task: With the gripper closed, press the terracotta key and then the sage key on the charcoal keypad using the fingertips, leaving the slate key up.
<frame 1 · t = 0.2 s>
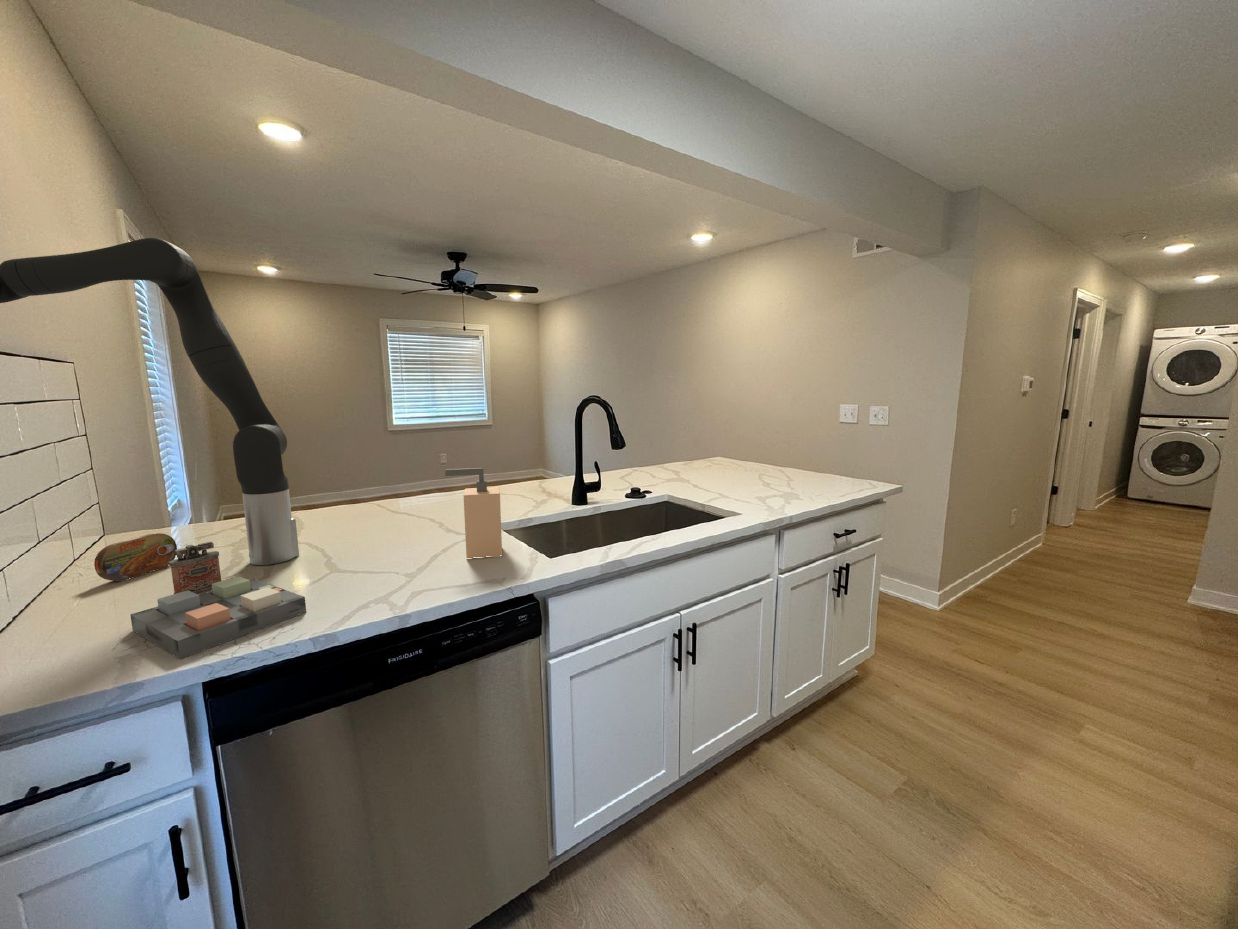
tin: (140, 574, 113), on the worktop
slate key: (179, 603, 89), point 4 cm above the worktop, slide at 0.0 cm
soap dispenser: (476, 554, 127), on the worktop
terracotta key: (208, 617, 83), point 4 cm above the worktop, slide at 0.0 cm
keypad: (223, 621, 90), on the worktop
sage key: (231, 588, 96), point 4 cm above the worktop, slide at 0.0 cm
lighter: (199, 592, 103), on the worktop
cream key: (261, 600, 90), point 4 cm above the worktop, slide at 0.0 cm
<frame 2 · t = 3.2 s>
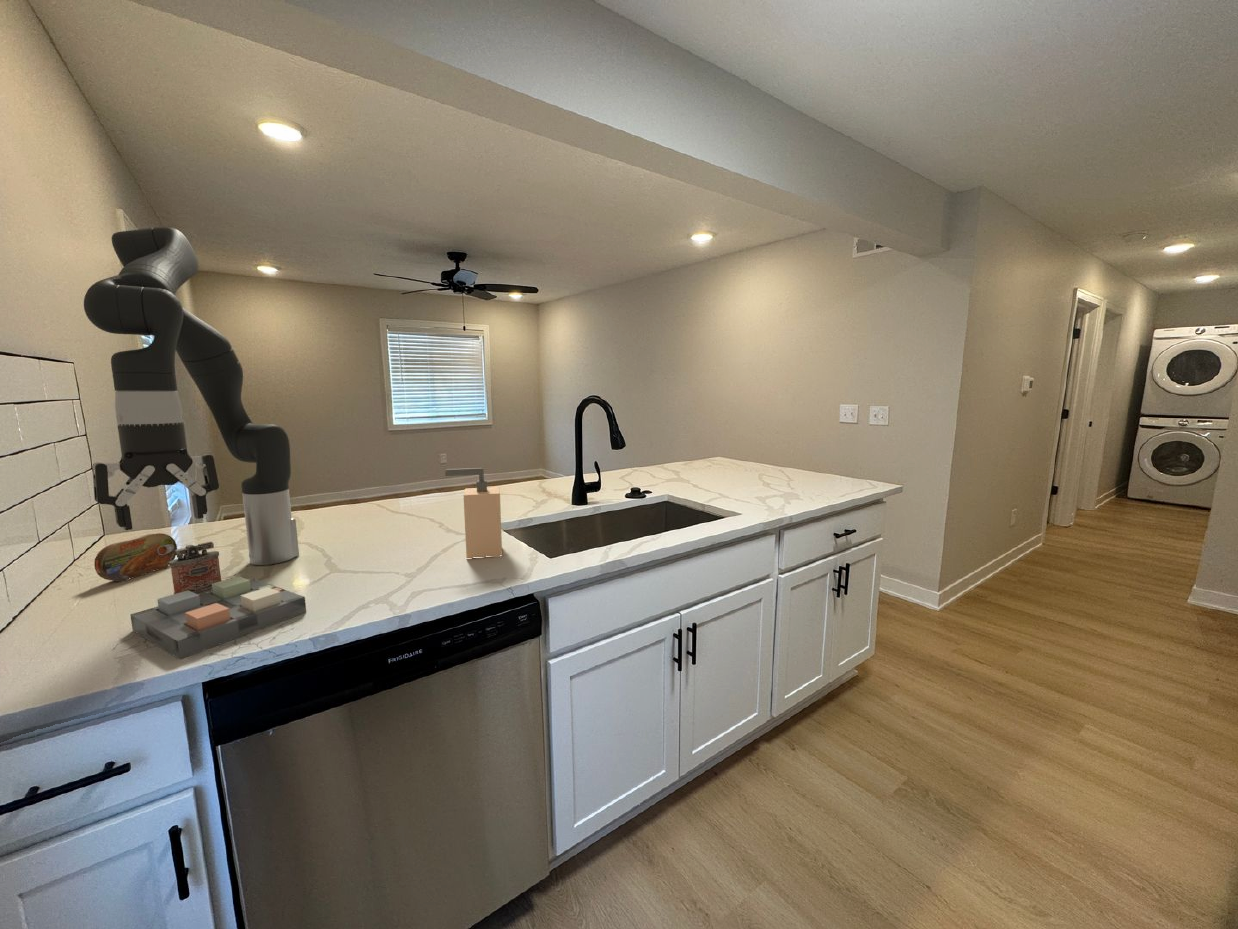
hand: (164, 523, 79), 20 cm above the worktop, tool pointing down, fingers open, 8 cm apart
nothing on the worktop moved.
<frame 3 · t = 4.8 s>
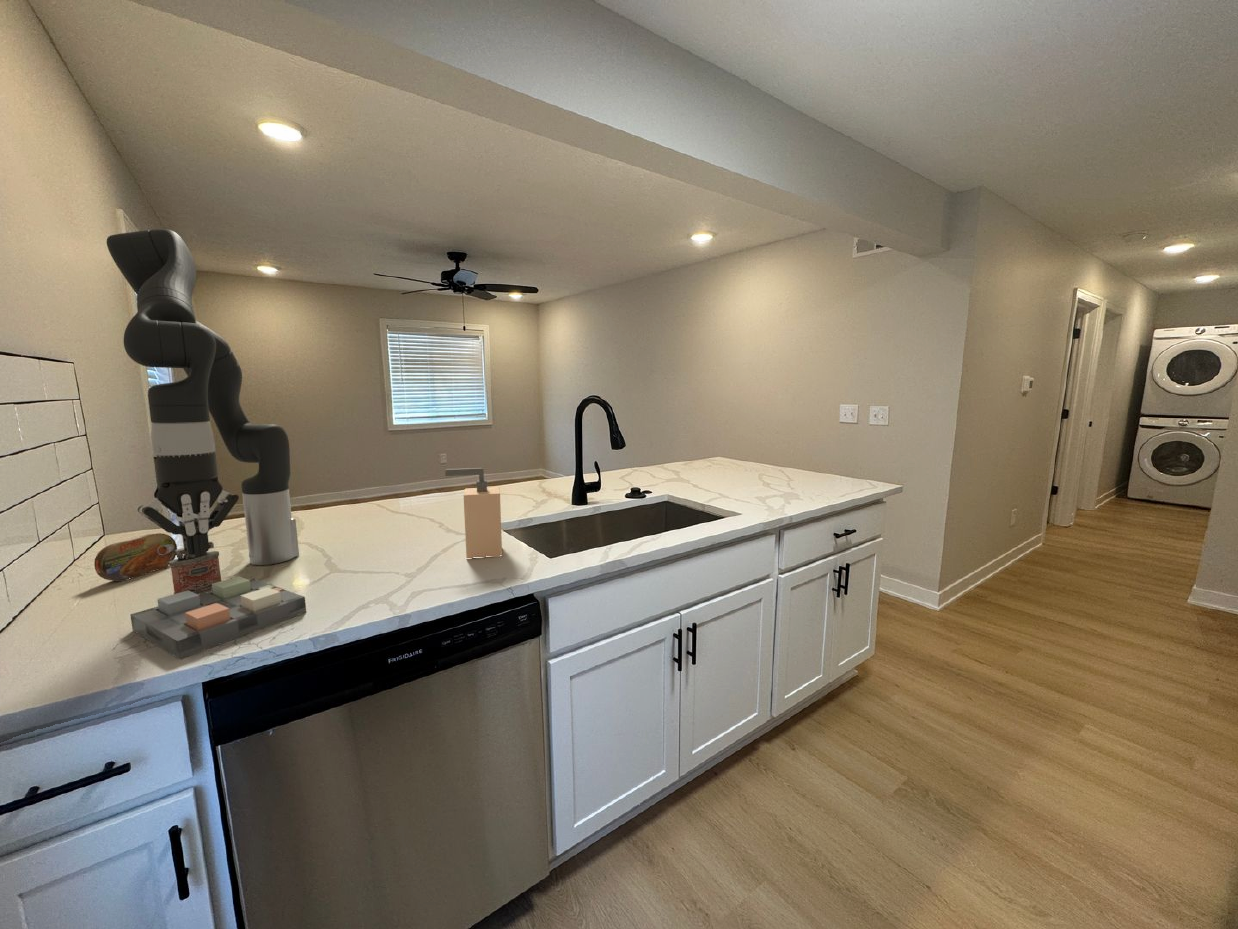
hand: (197, 555, 82), 14 cm above the worktop, tool pointing down, fingers closed
nothing on the worktop moved.
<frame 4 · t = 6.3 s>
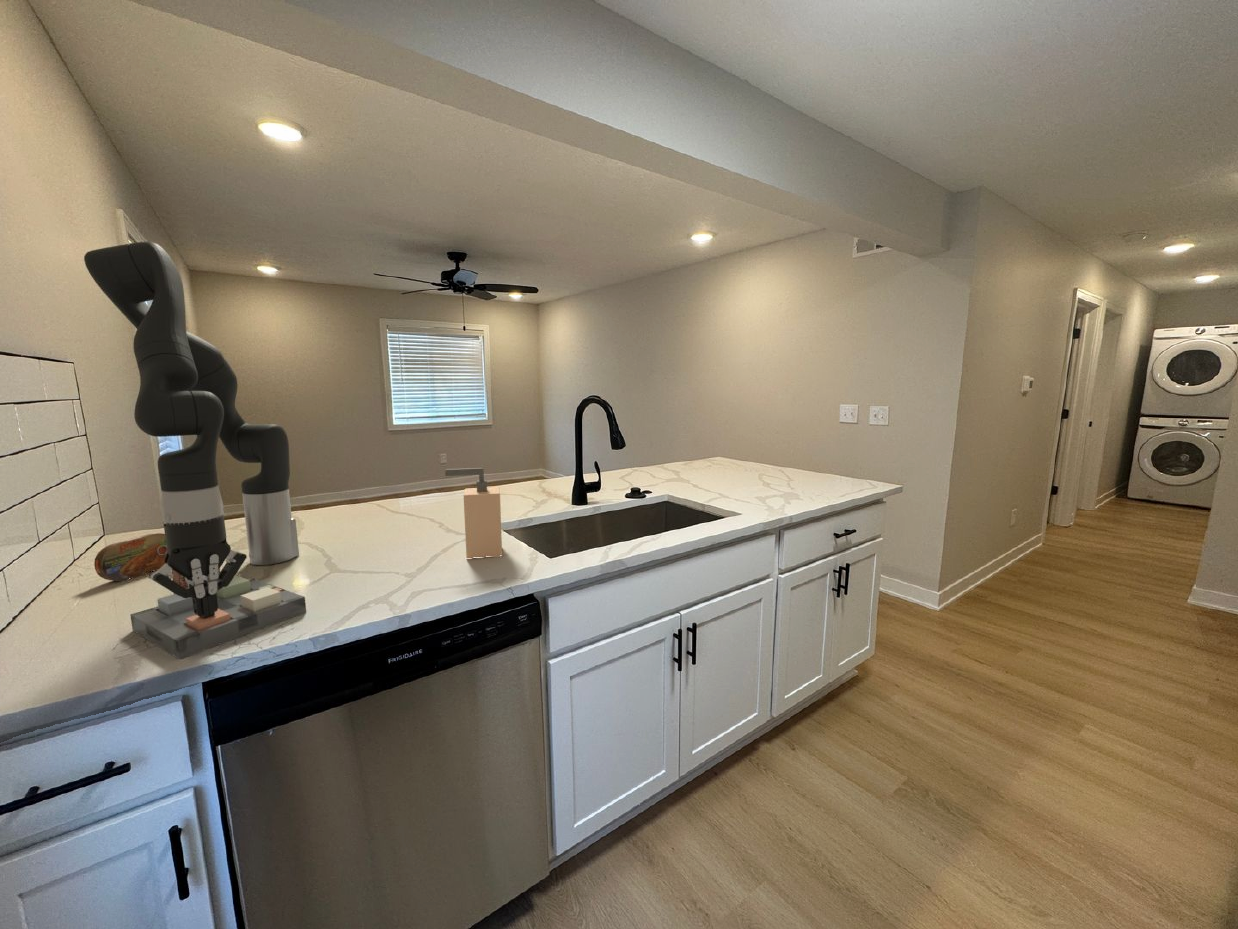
hand: (206, 616, 83), 4 cm above the worktop, tool pointing down, fingers closed
terracotta key: (208, 623, 84), point 3 cm above the worktop, slide at 1.0 cm
everything else where it was.
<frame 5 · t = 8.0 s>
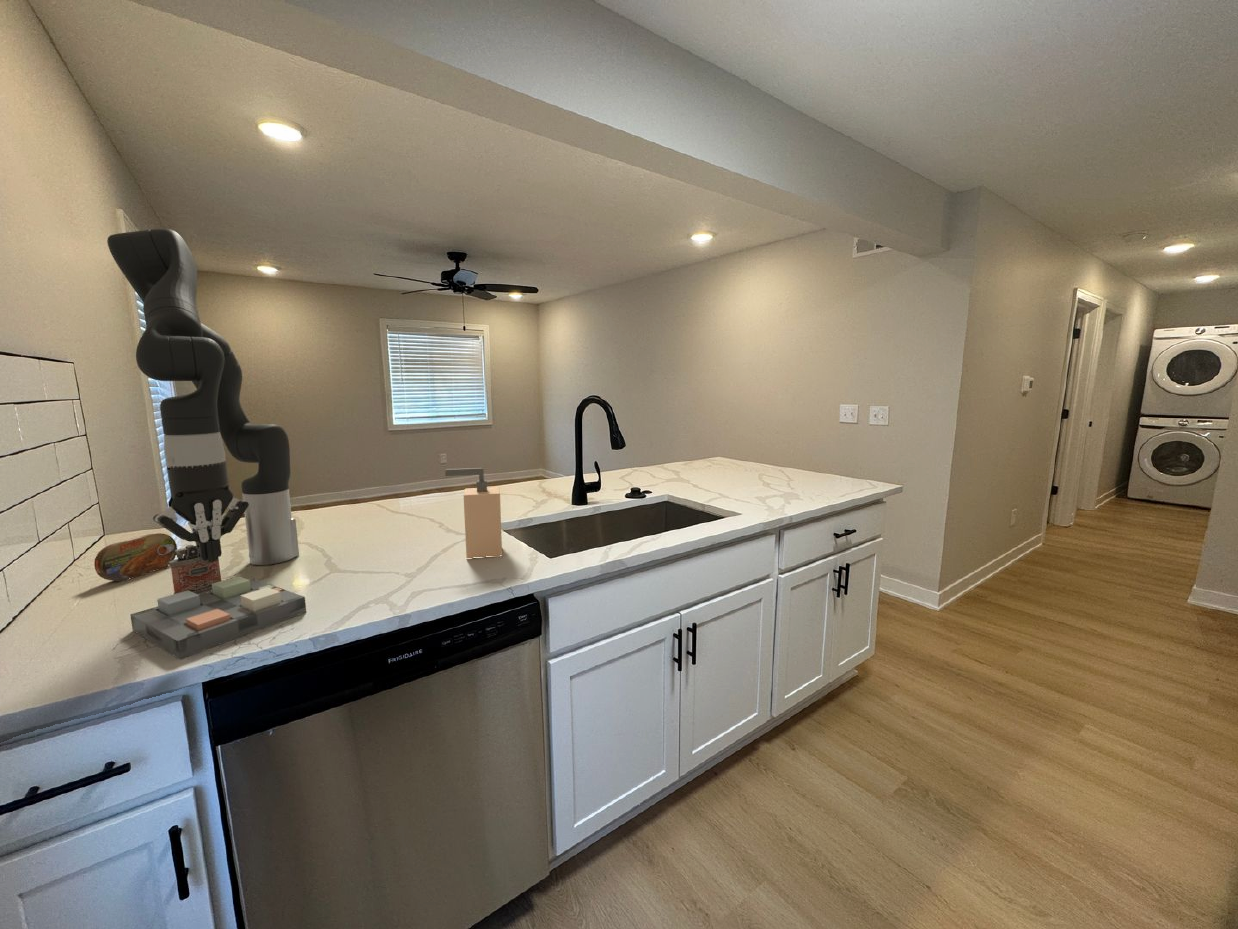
hand: (210, 561, 85), 13 cm above the worktop, tool pointing down, fingers closed
nothing on the worktop moved.
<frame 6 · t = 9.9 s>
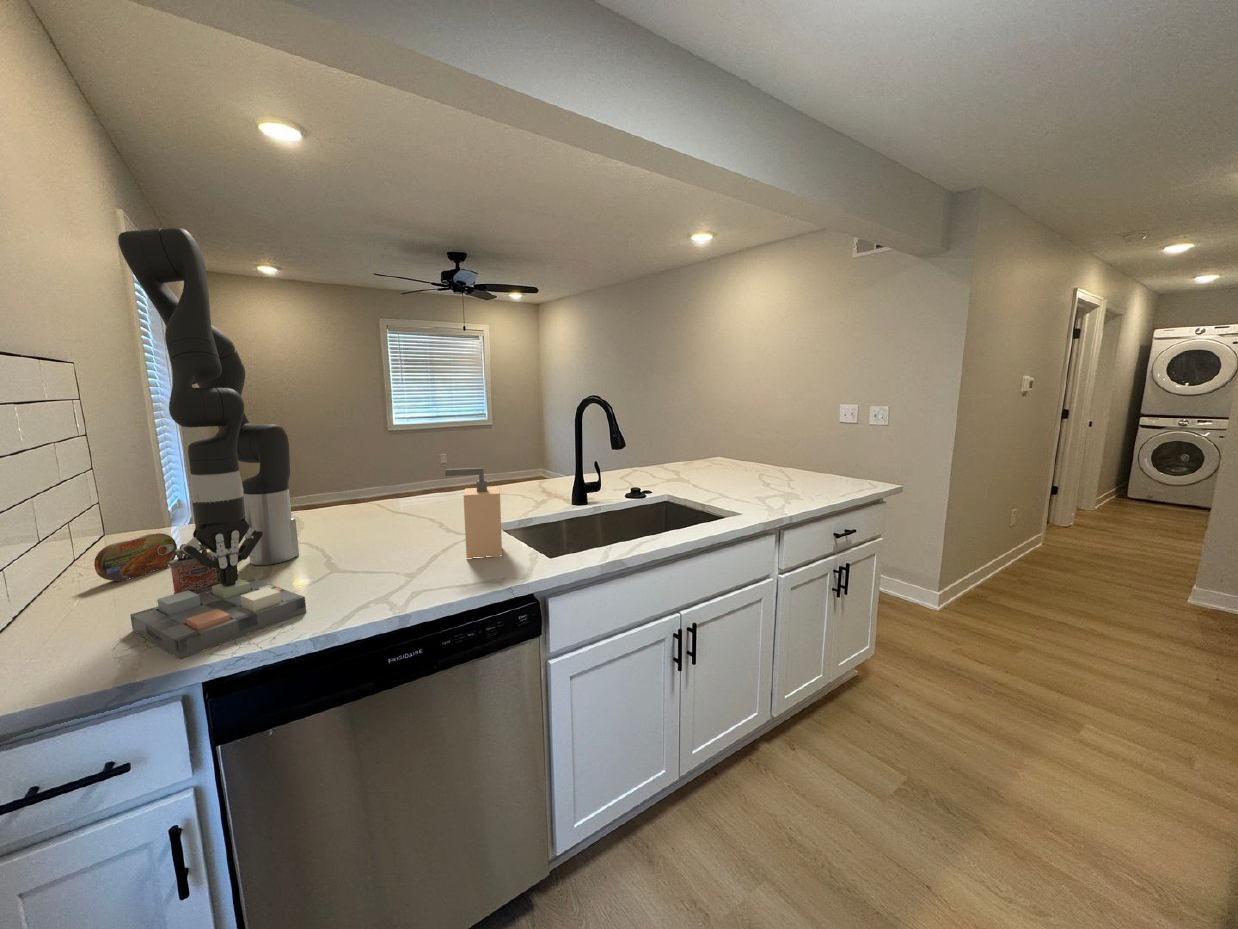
hand: (228, 584, 95), 4 cm above the worktop, tool pointing down, fingers closed
sage key: (231, 590, 96), point 3 cm above the worktop, slide at 0.5 cm, touching gripper
everything else where it was.
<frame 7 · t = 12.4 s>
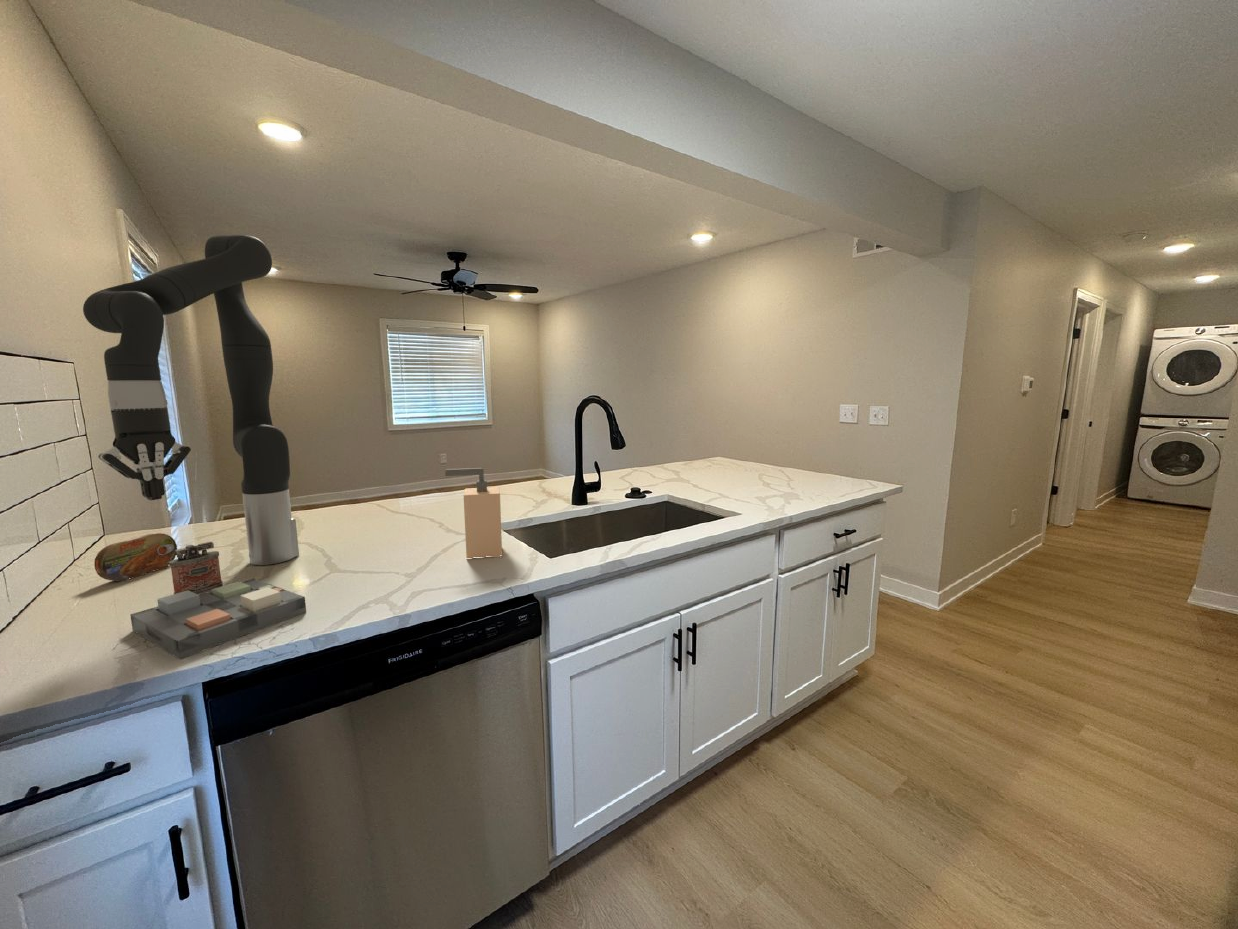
hand: (154, 499, 93), 21 cm above the worktop, tool pointing down, fingers closed
sage key: (232, 593, 96), point 3 cm above the worktop, slide at 1.1 cm
everything else where it was.
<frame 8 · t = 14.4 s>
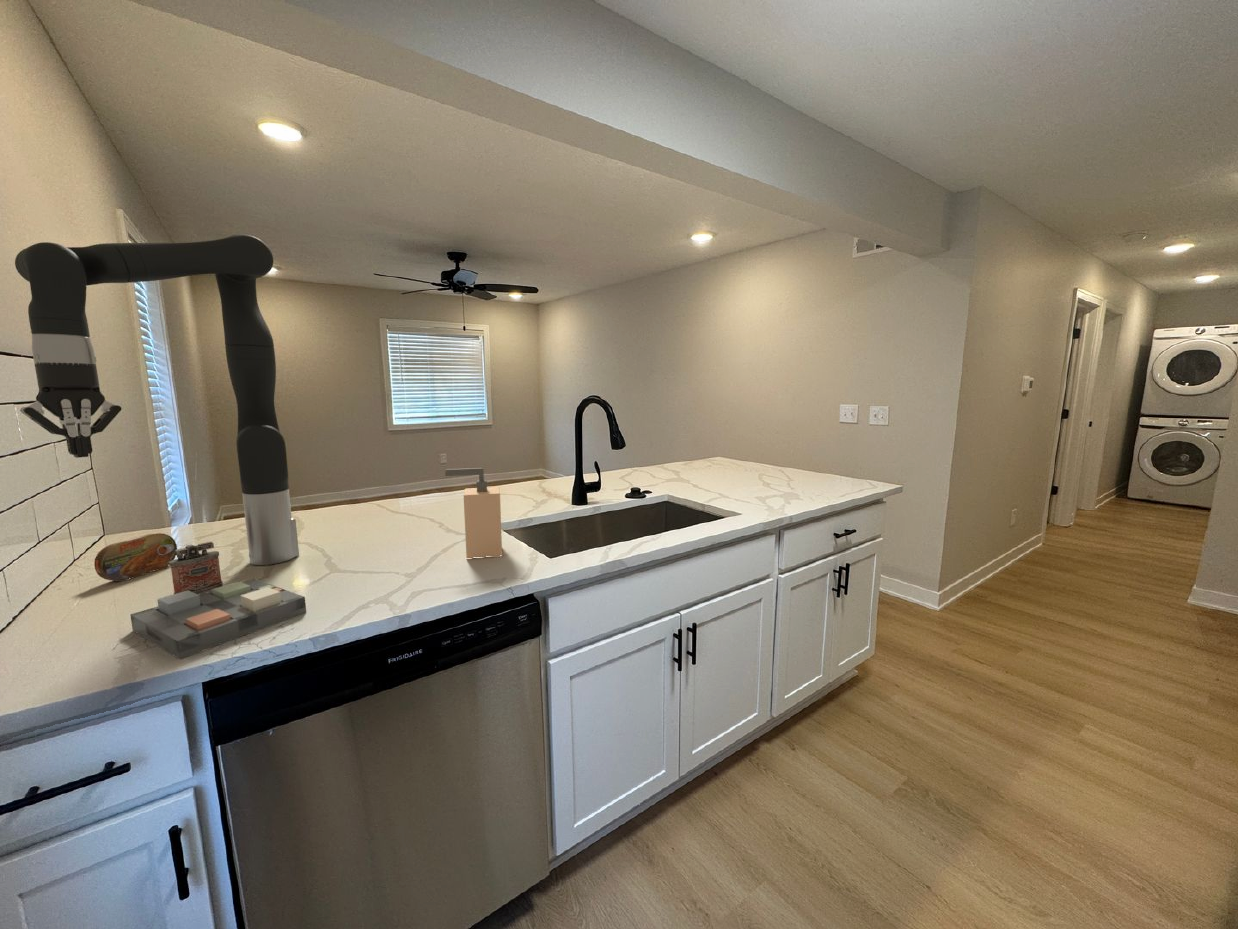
hand: (81, 456, 92), 29 cm above the worktop, tool pointing down, fingers closed
nothing on the worktop moved.
at the end: terracotta key slide at 1.1 cm; sage key slide at 1.1 cm; slate key slide at 0.0 cm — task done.
